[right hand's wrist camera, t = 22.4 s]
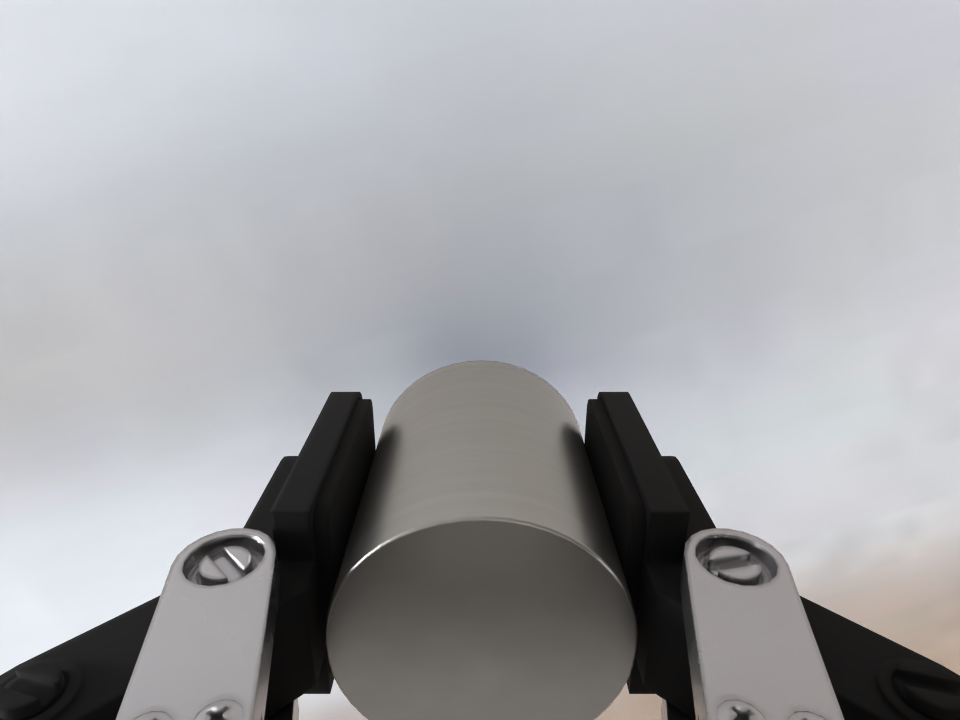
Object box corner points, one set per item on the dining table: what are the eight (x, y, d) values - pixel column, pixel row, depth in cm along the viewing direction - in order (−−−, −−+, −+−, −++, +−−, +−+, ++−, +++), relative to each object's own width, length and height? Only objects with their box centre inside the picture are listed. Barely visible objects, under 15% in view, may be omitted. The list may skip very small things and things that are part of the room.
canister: (445, 564, 14) (426, 793, 9) (340, 417, 13) (258, 601, 8) (615, 486, 13) (687, 693, 9) (523, 323, 12) (550, 463, 7)
